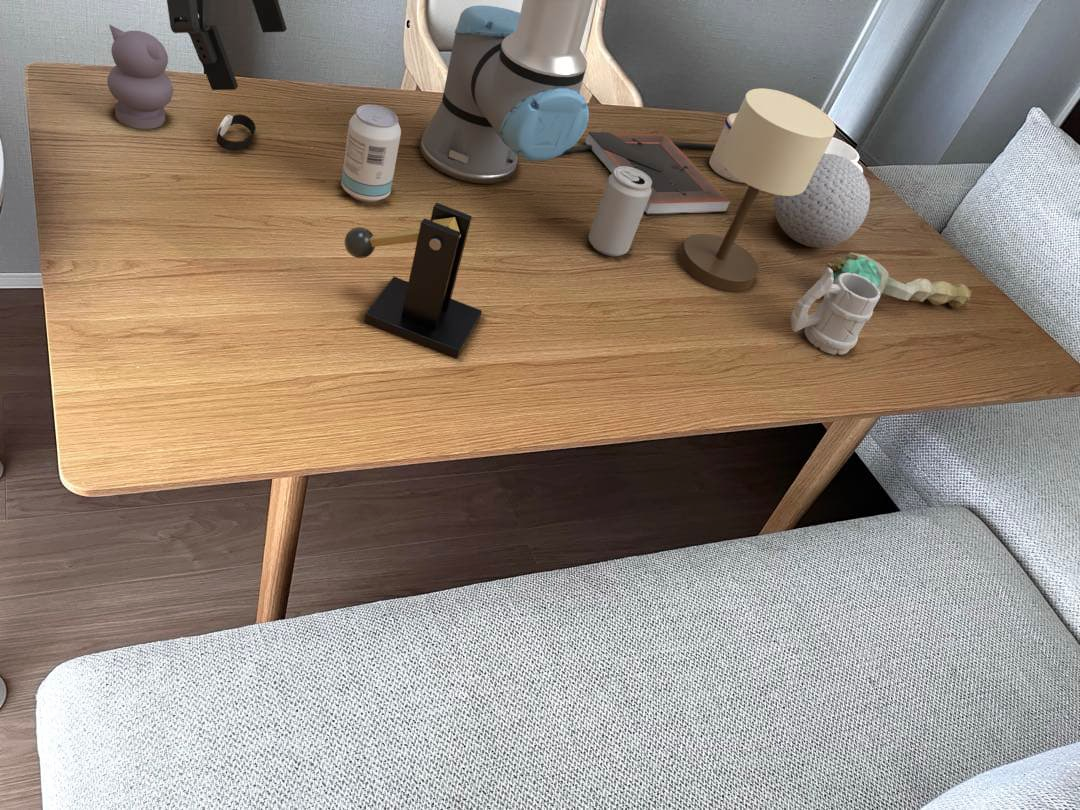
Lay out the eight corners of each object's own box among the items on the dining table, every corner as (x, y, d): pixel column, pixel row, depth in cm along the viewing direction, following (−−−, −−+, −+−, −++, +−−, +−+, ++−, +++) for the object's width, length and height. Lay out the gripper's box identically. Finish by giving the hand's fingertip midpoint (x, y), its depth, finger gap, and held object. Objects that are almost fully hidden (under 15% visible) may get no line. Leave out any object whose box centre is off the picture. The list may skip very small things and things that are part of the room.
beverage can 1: (396, 190, 132) (410, 114, 124) (378, 212, 127) (391, 134, 119) (352, 173, 132) (363, 96, 124) (332, 194, 127) (342, 115, 119)
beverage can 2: (615, 264, 133) (643, 193, 125) (579, 243, 135) (604, 172, 127) (634, 249, 138) (662, 180, 130) (599, 228, 139) (624, 159, 131)
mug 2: (860, 358, 133) (903, 293, 125) (790, 353, 129) (830, 285, 121) (837, 324, 138) (877, 259, 130) (770, 318, 134) (807, 251, 126)
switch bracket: (363, 322, 109) (382, 217, 99) (392, 284, 116) (411, 182, 106) (457, 358, 109) (484, 257, 99) (480, 318, 116) (508, 220, 106)
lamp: (730, 242, 147) (803, 92, 130) (770, 293, 139) (853, 140, 122) (662, 241, 142) (729, 84, 125) (700, 294, 134) (776, 133, 117)
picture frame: (584, 144, 159) (645, 215, 146) (588, 131, 157) (651, 202, 145) (660, 145, 167) (724, 213, 154) (665, 133, 165) (730, 200, 153)
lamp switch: (346, 265, 108) (334, 237, 106) (358, 250, 111) (347, 223, 109) (454, 252, 103) (444, 223, 101) (464, 237, 106) (455, 209, 104)
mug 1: (778, 190, 166) (803, 140, 159) (800, 180, 172) (826, 131, 165) (827, 222, 162) (855, 172, 155) (849, 211, 168) (877, 161, 161)
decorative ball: (859, 259, 155) (905, 182, 145) (802, 271, 147) (847, 190, 137) (799, 209, 163) (839, 133, 153) (742, 218, 154) (780, 138, 145)
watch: (231, 125, 133) (232, 101, 130) (262, 135, 133) (264, 112, 131) (207, 147, 127) (207, 123, 125) (239, 158, 127) (240, 134, 125)
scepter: (950, 264, 156) (820, 246, 141) (992, 274, 148) (860, 256, 134) (935, 313, 158) (806, 301, 144) (976, 325, 151) (844, 313, 137)
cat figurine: (185, 119, 131) (186, 38, 123) (148, 138, 125) (147, 54, 117) (134, 96, 131) (132, 14, 124) (95, 114, 125) (90, 28, 118)
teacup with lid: (720, 182, 162) (747, 123, 154) (699, 155, 168) (724, 96, 160) (775, 186, 167) (804, 129, 159) (752, 160, 173) (779, 103, 165)
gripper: (197, -195, 95) (264, 10, 110) (69, -113, 78) (168, 115, 93) (264, -201, 93) (322, 8, 108) (147, -118, 76) (235, 115, 92)
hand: (251, 58), depth 101 cm, fingers open, 13 cm apart
